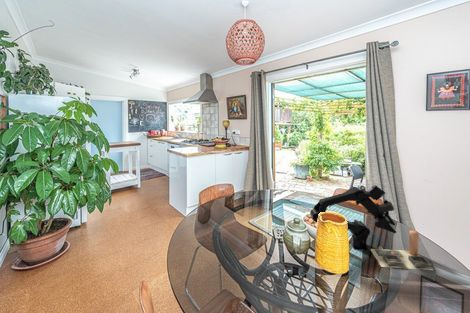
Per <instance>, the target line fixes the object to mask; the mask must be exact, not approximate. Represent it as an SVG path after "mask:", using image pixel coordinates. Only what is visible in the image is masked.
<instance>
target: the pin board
mask: <svg viewBox="0 0 470 313" xmlns="http://www.w3.org/2000/svg"><path fill="white" fill-rule="evenodd" d="M369 250H370V251H371V253H372V254H373V256H374V257H375V258H374V259H376V261H377V262H378V264H379V265H380V267H382V268H383V267H384V268H393V269H394V268H395V269H409V270H425V271H434V268H433V267H432V266H433V265H432V264H431V262H429V261H428V260H427V258H425V257H424V256H421V255H420V254H419V253H418V256H413V255H411V254H409V250H405V249H402V250H400V249H379V248H369Z"/></svg>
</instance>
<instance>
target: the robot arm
mask: <svg viewBox="0 0 470 313" xmlns="http://www.w3.org/2000/svg"><path fill="white" fill-rule="evenodd" d="M385 195H386V192H385V191H384V190H383V189H382V188H380V187H379V186H378V185H376V184H373V185H372V186H371V187H370V188H369V189H368V190H365V189H361V188H359V187H357V186H354V187H350V188H349V189H347V190H346V191H345V192H342V193H338V194H334V195H331V196H328V197H324V198H320V199H319V200H318V202H317V203H316V204H315V205H314V207H313V208H312V209H311V210H310V212H309V214H310V216H311V218H312V220H313V222H314V223H317V218H318V214H319V213H320V212H325V213H327V208H328V207H330V206H334V205H337V204H342V203H344V202H349V201H351V202H355V203H354V204H355V205H356V206H358V205H360V206H362V207H363V209H365V210H366V213H368V214H371V216H373V219H375V220H374V225H375V226H376V227H377V229H383V230H385V231H388V232H390V233H393V234H397V231H396V229H395V228H394V227H393V226H395V225H396V223H395V221H394V220H393V219H392V217H391V216H390V213H389V212H393V211H395V207H394V204H393V203H392V201H390V200H388V199H384V200H383V203H381V204H380V203H378V202H374V201H379V199H381V198H382V197H383V196H385ZM346 221H347V222H348V229H347V230H349V232H350V234H351V242H350V244H351V246H352V248H353V249H354V250H358V251H359V250H360V251H362V250H363V251H364V250H365V251H366V250H367V246H368V245H367V244H368V243H367V241H368V240H367V239H368V237H369V236H370V234H371V230H370V228H368V226H367V225H366V224H365V223H364V222H362V221H361V220H357V219H354V221H349V220H346Z"/></svg>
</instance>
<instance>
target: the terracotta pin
mask: <svg viewBox="0 0 470 313" xmlns="http://www.w3.org/2000/svg"><path fill="white" fill-rule="evenodd" d="M408 243H409V244H408V251H409V254H411V255H413V256H418V254H419V232H418V230H417V231H416V230H413V229H412V230H409V239H408Z"/></svg>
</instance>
